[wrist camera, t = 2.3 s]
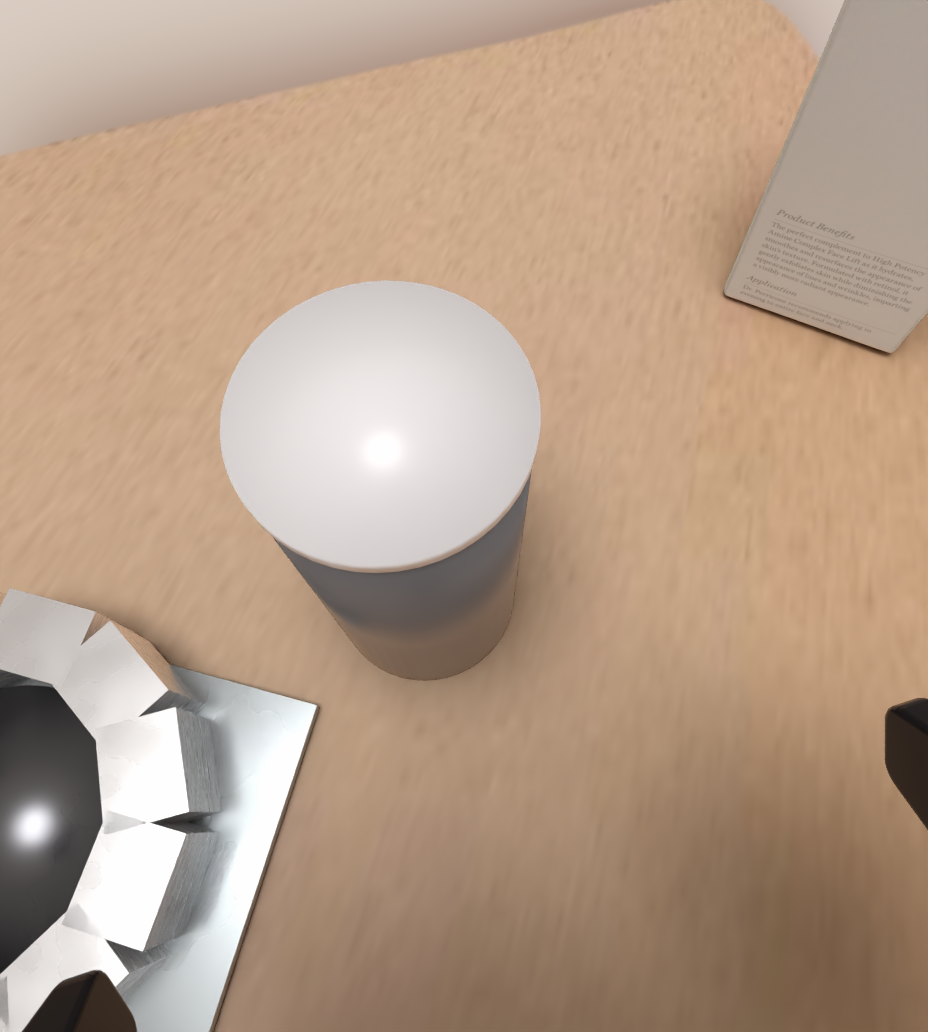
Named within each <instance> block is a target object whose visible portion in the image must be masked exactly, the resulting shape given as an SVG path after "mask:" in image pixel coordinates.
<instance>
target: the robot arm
mask: <svg viewBox="0 0 928 1032" xmlns="http://www.w3.org/2000/svg"><path fill="white" fill-rule="evenodd" d="M885 764H886V768H887V771H888V773H889V775H890V777H891V779H892V781H893V782H894V784H895V785H896V787H897V788H898V790H899V791H900V792H901V794H902V795H903V796H904V798H905V799H906V801H907V802H908V803H909V805H910V806H911V808H912V809H913V810H914V812H915V813H916V814H917V816H918V817H919V819H920V820H921V821H922V823H923V824H924V825H925V827H926V828H927V830H928V699H926V698H916V699H913V700H910V701H907V702H904V703H901V704H898V705H895V706H892V707H890V708H889V709H888V711H887V713H886V715H885ZM22 1032H137V1027H136V1022H135V1019H134V1016H133V1014H132V1012H131V1011H130V1009H129V1008H128V1006H127V1004H126V1003H125V1001H124V1000H123V998H122V997H121V995H120V994H119V992H118V991H117V989H116V987H115V986H114V984H113V983H112V981H111V980H110V978H109V977H108V975H107V974H106V973H105V972H103V971H101V970H92V971H89V972H86V973H83V974H80V975H77V976H74V977H71V978H68V979H65V980H63V981H62V982H60V983H59V984H58V985H57V986H56V987H55V988H54V989H53V990H52V991H51V993H50V994H49V995H48V997H47V998H46V999H45V1001H44V1002H43V1003H42V1005H41V1006H40V1007H39V1009H38V1010H37V1012H36V1013H35V1014H34V1016H33V1017H32V1018H31V1020H30V1021H29V1022H28V1024H27V1025H26V1026H25V1028H24V1029H23V1030H22Z"/></svg>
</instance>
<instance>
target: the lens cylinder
mask: <svg viewBox="0 0 928 1032" xmlns="http://www.w3.org/2000/svg"><path fill="white" fill-rule="evenodd" d="M540 421H541V407H540V399H539V391H538V387H537V384H536V380H535V376H534V373H533V371H532V369H531V366H530V364H529V362H528V359H527V357H526V356H525V354H524V352H523V351H522V349H521V347H520V346H519V344H518V343H517V341H516V340H515V339H514V338H513V336H512V335H511V334H510V333H509V332H508V330H507V329H506V328H505V327H504V326H503V325H502V324H501V323H500V322H498V321H497V320H496V319H495V318H494V317H493V316H492V315H491V314H489V313H488V312H486V311H485V310H484V309H482V308H481V307H479V306H478V305H476V304H474V303H473V302H471V301H469V300H467V299H465V298H463V297H461V296H459V295H457V294H454V293H452V292H449V291H447V290H444V289H441V288H437V287H433V286H429V285H426V284H420V283H413V282H407V281H373V282H363V283H358V284H352V285H347V286H343V287H340V288H336V289H333V290H330V291H327V292H324V293H322V294H319V295H317V296H315V297H312V298H310V299H308V300H306V301H304V302H303V303H301V304H299V305H297V306H295V307H293V308H292V309H290V310H289V311H288V312H286V313H285V314H283V315H282V316H280V317H279V318H278V319H276V320H275V321H274V322H273V323H272V324H271V325H270V326H268V327H267V328H266V329H265V330H264V331H263V332H262V333H261V334H260V335H259V336H258V338H257V339H256V340H255V341H254V342H253V343H252V344H251V345H250V347H249V348H248V350H247V351H246V352H245V354H244V355H243V357H242V358H241V360H240V361H239V363H238V365H237V367H236V369H235V371H234V373H233V375H232V377H231V379H230V382H229V384H228V387H227V390H226V393H225V396H224V401H223V405H222V410H221V419H220V441H221V452H222V456H223V460H224V464H225V468H226V471H227V473H228V476H229V478H230V481H231V483H232V485H233V488H234V489H235V491H236V492H237V494H238V496H239V497H240V499H241V501H242V502H243V504H244V505H245V507H246V508H247V509H248V510H249V512H250V513H251V514H252V515H253V517H254V518H255V519H256V520H257V521H258V523H259V524H260V525H261V526H262V527H263V528H264V529H265V530H266V531H267V532H268V533H269V534H270V535H271V536H272V537H273V538H274V539H275V541H276V542H277V543H278V545H279V546H280V547H281V549H282V550H283V551H284V553H285V554H286V555H287V557H288V558H289V559H290V561H291V562H292V563H293V565H294V566H295V567H296V568H297V570H298V571H299V572H300V574H301V575H302V576H303V578H304V579H305V580H306V582H307V583H308V584H309V586H310V587H311V588H312V590H313V591H314V592H315V594H316V595H317V596H318V597H319V599H320V600H321V601H322V603H323V604H324V605H325V607H326V608H327V609H328V611H329V612H330V613H331V615H332V616H333V617H334V619H335V620H336V621H337V623H338V624H339V625H340V627H341V628H342V629H343V630H344V632H345V633H346V634H347V636H348V637H349V638H350V640H351V641H352V642H353V644H354V645H355V646H356V647H357V649H358V650H359V651H360V652H361V653H362V655H364V656H365V657H366V658H367V659H368V660H369V661H370V662H371V663H373V664H374V665H376V666H377V667H379V668H380V669H382V670H384V671H386V672H388V673H390V674H393V675H396V676H399V677H402V678H407V679H412V680H437V679H442V678H447V677H450V676H453V675H456V674H459V673H461V672H463V671H465V670H467V669H469V668H471V667H472V666H474V665H475V664H477V663H478V662H480V661H481V660H482V659H483V658H484V657H486V656H487V655H488V654H489V653H490V652H491V650H492V649H493V648H494V647H495V646H496V645H497V643H498V642H499V640H500V639H501V637H502V635H503V634H504V631H505V629H506V627H507V625H508V622H509V619H510V616H511V612H512V607H513V601H514V593H515V586H516V579H517V571H518V564H519V557H520V550H521V542H522V535H523V528H524V521H525V513H526V506H527V499H528V492H529V484H530V477H531V470H532V467H533V464H534V461H535V457H536V452H537V446H538V441H539V434H540Z"/></svg>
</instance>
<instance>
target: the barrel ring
mask: <svg viewBox="0 0 928 1032" xmlns="http://www.w3.org/2000/svg"><path fill="white" fill-rule="evenodd" d="M319 708H320V707H319V706H317V705H314V704H310V703H307V702H303V701H300V700H296V699H292V698H289V697H285V696H282V695H278V694H274V693H271V692H267V691H264V690H260V689H256V688H253V687H249V686H246V685H242V684H238V683H235V682H231V681H228V680H224V679H220V678H217V677H213V676H210V675H206V674H202V673H199V672H195V671H192V670H188V669H184V668H181V667H177V666H174V665H170V664H169V663H168V662H167V661H166V660H165V659H164V658H163V656H162V655H161V654H160V653H159V652H158V650H157V649H156V648H155V647H154V646H153V645H152V643H151V642H150V641H148V640H146V639H145V638H143V637H141V636H139V635H137V634H136V632H134V631H132V630H130V629H128V628H126V627H124V626H122V625H120V624H119V623H117V622H115V621H113V620H111V619H109V618H107V617H105V616H103V615H101V614H100V613H98V612H96V611H92V610H88V609H85V608H81V607H77V606H74V605H70V604H66V603H63V602H59V601H55V600H52V599H48V598H44V597H41V596H37V595H33V594H30V593H26V592H22V591H19V590H15V589H11V588H9V590H8V592H7V594H6V595H5V594H3V593H1V592H0V1032H22V1030H23V1029H24V1028H25V1026H26V1025H27V1024H28V1022H29V1021H30V1020H31V1018H32V1017H33V1016H34V1014H35V1013H36V1012H37V1010H38V1009H39V1007H40V1006H41V1005H42V1003H43V1002H44V1001H45V999H46V998H47V997H48V995H49V994H50V993H51V991H52V990H53V989H54V988H55V987H56V986H57V985H58V984H59V983H60V982H62V981H63V980H65V979H68V978H71V977H74V976H77V975H80V974H83V973H86V972H89V971H92V970H101V971H103V972H105V973H106V974H107V975H108V977H109V978H110V980H111V981H112V983H113V984H114V986H115V987H116V989H117V991H118V992H119V994H120V995H121V997H122V998H123V1000H124V1001H125V1003H126V1004H127V1006H128V1008H129V1009H130V1011H131V1012H132V1014H133V1016H134V1019H135V1022H136V1027H137V1032H213V1030H214V1027H215V1024H216V1021H217V1018H218V1015H219V1012H220V1009H221V1006H222V1003H223V1000H224V997H225V994H226V991H227V988H228V985H229V982H230V979H231V976H232V973H233V969H234V966H235V963H236V960H237V957H238V954H239V951H240V948H241V945H242V942H243V939H244V936H245V933H246V930H247V927H248V924H249V921H250V918H251V915H252V912H253V909H254V906H255V902H256V899H257V896H258V893H259V890H260V887H261V884H262V881H263V878H264V875H265V872H266V869H267V866H268V863H269V860H270V857H271V854H272V851H273V848H274V845H275V842H276V839H277V835H278V832H279V829H280V826H281V823H282V820H283V817H284V814H285V811H286V808H287V805H288V802H289V799H290V796H291V793H292V790H293V787H294V784H295V781H296V778H297V775H298V772H299V769H300V765H301V762H302V759H303V756H304V753H305V750H306V747H307V744H308V741H309V738H310V735H311V732H312V729H313V726H314V723H315V720H316V717H317V714H318V711H319Z"/></svg>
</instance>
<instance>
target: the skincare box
mask: <svg viewBox="0 0 928 1032" xmlns="http://www.w3.org/2000/svg"><path fill="white" fill-rule="evenodd" d="M724 293H725V295H727V296H729V297H731V298H734V299H737V300H740V301H743V302H746V303H749V304H752V305H755V306H758V307H760V308H763V309H766V310H769V311H772V312H775V313H778V314H780V315H783V316H786V317H789V318H792V319H795V320H797V321H800V322H803V323H806V324H809V325H811V326H814V327H817V328H820V329H823V330H825V331H828V332H831V333H834V334H837V335H839V336H842V337H845V338H848V339H851V340H853V341H856V342H859V343H862V344H865V345H868V346H871V347H874V348H876V349H879V350H882V351H885V352H888V353H892V352H894V351H895V350H896V349H897V348H898V347H899V345H900V344H901V343H902V342H903V341H904V339H905V338H906V337H907V336H908V335H909V333H910V332H911V331H912V330H913V329H914V328H915V326H916V325H917V324H918V323H919V322H920V320H921V319H922V318H923V317H924V316H925V315H926V314H927V313H928V0H845V1H844V3H843V6H842V8H841V10H840V13H839V15H838V18H837V20H836V22H835V25H834V27H833V30H832V32H831V35H830V37H829V40H828V42H827V44H826V46H825V49H824V51H823V54H822V56H821V58H820V61H819V63H818V65H817V68H816V70H815V72H814V75H813V77H812V80H811V82H810V84H809V87H808V89H807V91H806V94H805V96H804V99H803V101H802V103H801V106H800V108H799V110H798V113H797V115H796V118H795V120H794V122H793V125H792V127H791V130H790V132H789V134H788V137H787V139H786V142H785V144H784V146H783V149H782V151H781V153H780V156H779V158H778V161H777V163H776V165H775V168H774V170H773V172H772V175H771V177H770V180H769V182H768V184H767V187H766V189H765V192H764V194H763V196H762V199H761V201H760V204H759V206H758V208H757V211H756V213H755V216H754V218H753V220H752V223H751V225H750V227H749V230H748V232H747V235H746V237H745V239H744V242H743V244H742V247H741V249H740V251H739V254H738V256H737V258H736V261H735V263H734V265H733V268H732V270H731V272H730V275H729V277H728V279H727V282H726V284H725V287H724Z"/></svg>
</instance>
